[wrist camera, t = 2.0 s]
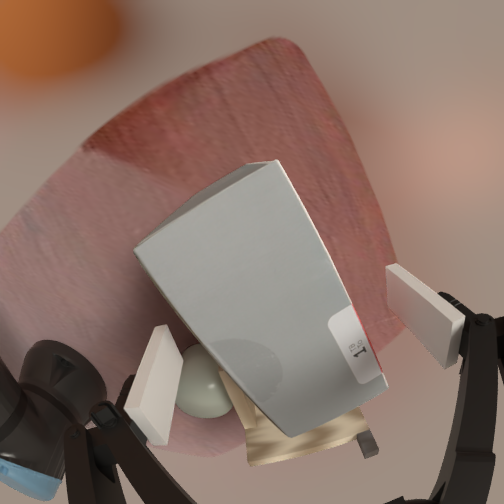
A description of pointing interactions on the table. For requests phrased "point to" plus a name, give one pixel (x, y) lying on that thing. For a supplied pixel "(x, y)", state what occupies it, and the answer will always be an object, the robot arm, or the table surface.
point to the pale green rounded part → (201, 385)
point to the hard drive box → (265, 298)
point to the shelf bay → (283, 447)
